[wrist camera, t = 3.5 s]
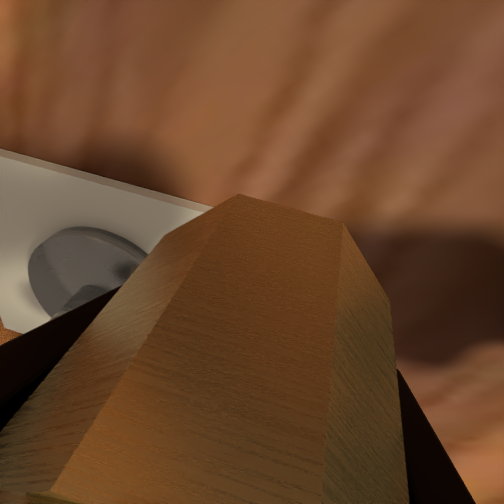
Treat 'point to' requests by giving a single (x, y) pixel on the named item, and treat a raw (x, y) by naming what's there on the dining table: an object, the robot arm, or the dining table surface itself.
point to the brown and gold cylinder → (223, 377)
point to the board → (69, 221)
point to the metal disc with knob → (80, 267)
